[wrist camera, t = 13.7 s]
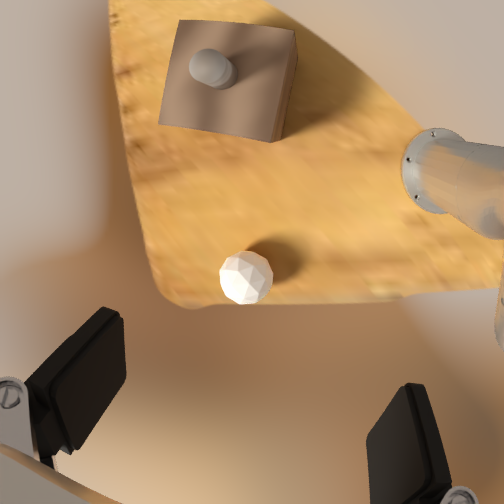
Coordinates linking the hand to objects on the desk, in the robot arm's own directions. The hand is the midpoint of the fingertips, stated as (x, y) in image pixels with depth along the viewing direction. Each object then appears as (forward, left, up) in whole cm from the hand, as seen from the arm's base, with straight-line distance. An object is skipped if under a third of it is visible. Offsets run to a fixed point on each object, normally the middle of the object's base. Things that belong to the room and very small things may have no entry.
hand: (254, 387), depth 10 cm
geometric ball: (+4, +14, -38) cm, 41 cm away
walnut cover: (+10, -12, -38) cm, 41 cm away
